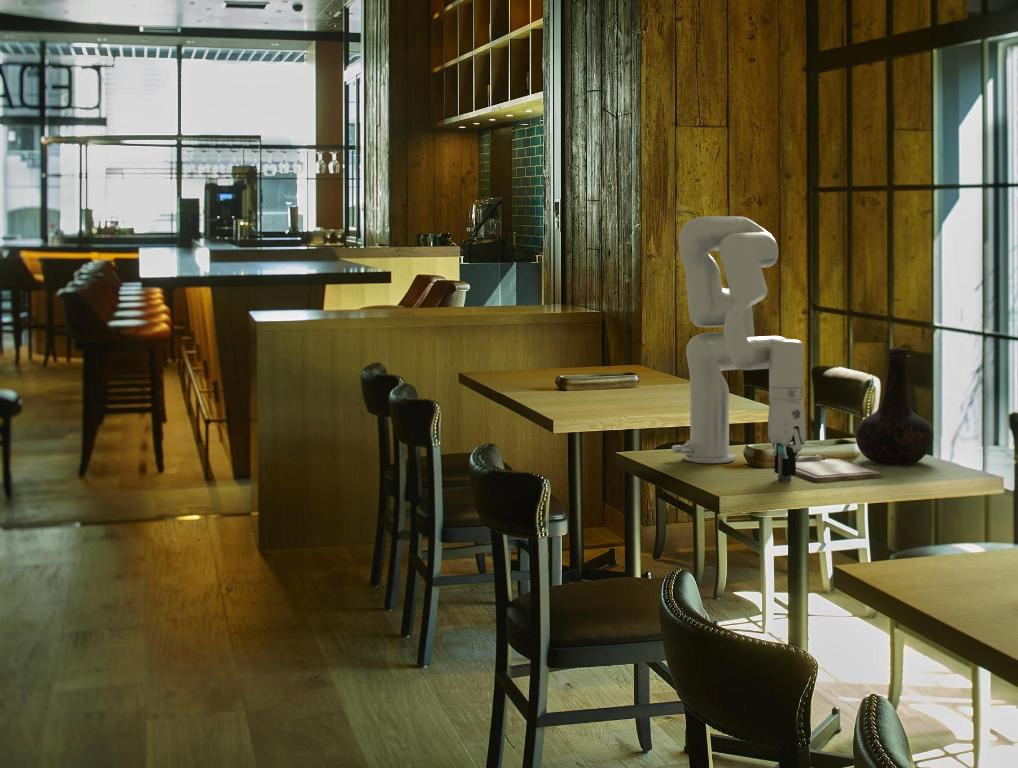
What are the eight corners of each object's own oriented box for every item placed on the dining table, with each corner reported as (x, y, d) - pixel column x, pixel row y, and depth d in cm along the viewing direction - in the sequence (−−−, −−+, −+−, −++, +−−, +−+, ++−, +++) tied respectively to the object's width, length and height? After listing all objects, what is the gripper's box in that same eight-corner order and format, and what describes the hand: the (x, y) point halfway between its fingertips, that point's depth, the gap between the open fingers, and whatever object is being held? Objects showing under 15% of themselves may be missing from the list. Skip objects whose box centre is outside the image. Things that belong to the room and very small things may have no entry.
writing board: (815, 482, 284) (815, 472, 284) (774, 466, 303) (774, 457, 303) (882, 477, 289) (882, 467, 288) (837, 462, 308) (837, 453, 308)
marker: (781, 482, 285) (782, 447, 284) (775, 479, 288) (775, 445, 287) (793, 481, 286) (794, 446, 285) (787, 478, 289) (787, 444, 288)
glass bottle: (844, 465, 304) (846, 349, 301) (870, 453, 319) (873, 343, 315) (918, 472, 294) (921, 353, 291) (942, 460, 308) (945, 346, 305)
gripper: (818, 397, 277) (817, 479, 280) (783, 389, 293) (782, 466, 295) (788, 399, 275) (787, 482, 278) (754, 390, 291) (753, 468, 293)
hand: (784, 473), depth 286 cm, fingers closed on marker, 2 cm apart
